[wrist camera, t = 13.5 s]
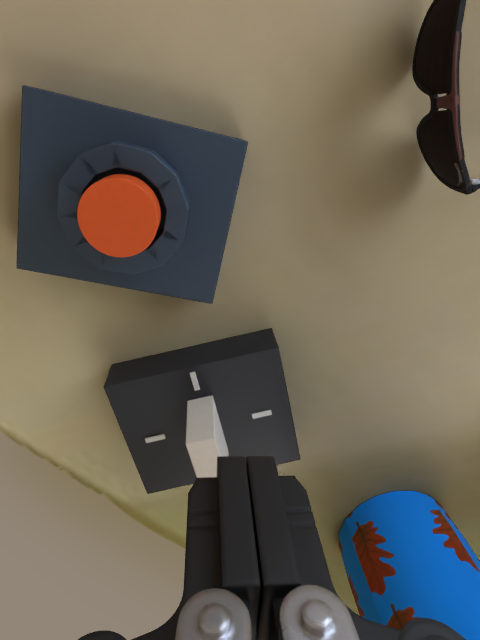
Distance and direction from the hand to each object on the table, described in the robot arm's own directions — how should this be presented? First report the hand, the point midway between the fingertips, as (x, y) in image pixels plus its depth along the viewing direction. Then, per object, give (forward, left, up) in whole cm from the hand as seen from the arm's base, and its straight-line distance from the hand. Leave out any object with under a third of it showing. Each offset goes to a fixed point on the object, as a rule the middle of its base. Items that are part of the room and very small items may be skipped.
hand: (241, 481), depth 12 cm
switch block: (+5, -4, -20) cm, 21 cm away
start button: (+5, -4, -16) cm, 17 cm away
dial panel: (0, +11, -20) cm, 22 cm away
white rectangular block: (0, +11, -16) cm, 20 cm away
